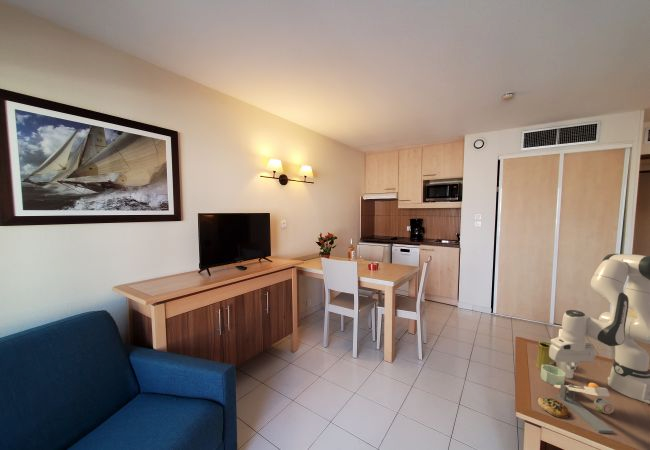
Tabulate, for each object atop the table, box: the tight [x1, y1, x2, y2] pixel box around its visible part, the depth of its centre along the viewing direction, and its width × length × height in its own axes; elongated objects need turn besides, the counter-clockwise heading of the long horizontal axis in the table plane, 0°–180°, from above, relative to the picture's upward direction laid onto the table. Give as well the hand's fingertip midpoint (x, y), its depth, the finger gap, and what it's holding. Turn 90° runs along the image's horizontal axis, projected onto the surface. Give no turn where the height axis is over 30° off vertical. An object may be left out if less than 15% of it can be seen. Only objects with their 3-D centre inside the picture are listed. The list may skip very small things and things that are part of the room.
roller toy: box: [593, 396, 615, 415], centre depth 117 cm, size 4×6×6 cm
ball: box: [587, 382, 600, 388], centre depth 110 cm, size 4×4×4 cm
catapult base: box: [555, 383, 614, 434], centre depth 115 cm, size 20×6×8 cm, turn 179°
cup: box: [540, 364, 566, 386], centre depth 137 cm, size 10×10×6 cm
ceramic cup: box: [538, 341, 557, 365], centre depth 156 cm, size 13×10×10 cm
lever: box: [553, 384, 611, 397], centre depth 118 cm, size 26×13×3 cm, turn 179°
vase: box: [535, 342, 551, 371], centre depth 148 cm, size 6×6×14 cm
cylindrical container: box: [555, 328, 574, 379], centre depth 142 cm, size 7×7×25 cm
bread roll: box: [537, 396, 570, 419], centre depth 117 cm, size 11×11×5 cm
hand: (571, 369), depth 127 cm, fingers closed
